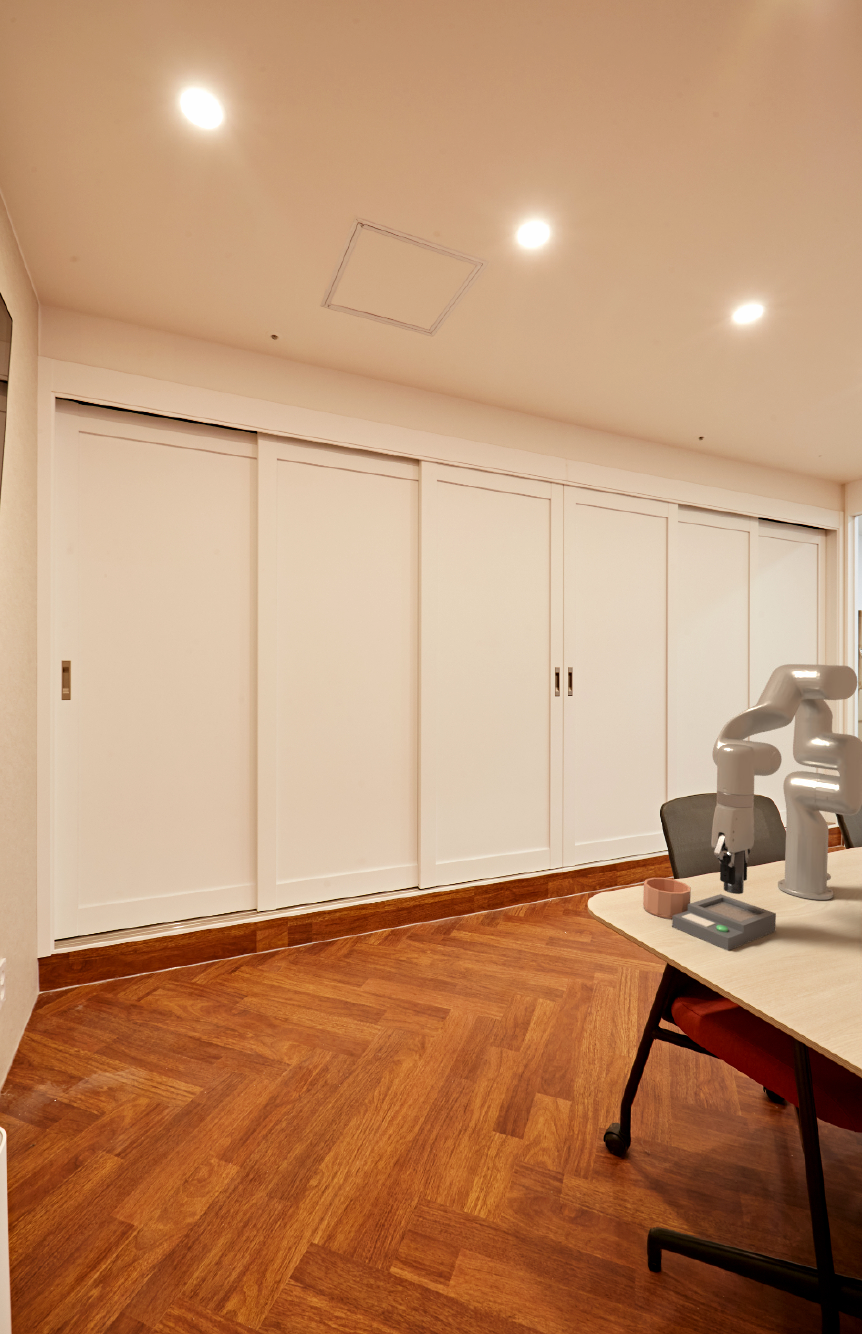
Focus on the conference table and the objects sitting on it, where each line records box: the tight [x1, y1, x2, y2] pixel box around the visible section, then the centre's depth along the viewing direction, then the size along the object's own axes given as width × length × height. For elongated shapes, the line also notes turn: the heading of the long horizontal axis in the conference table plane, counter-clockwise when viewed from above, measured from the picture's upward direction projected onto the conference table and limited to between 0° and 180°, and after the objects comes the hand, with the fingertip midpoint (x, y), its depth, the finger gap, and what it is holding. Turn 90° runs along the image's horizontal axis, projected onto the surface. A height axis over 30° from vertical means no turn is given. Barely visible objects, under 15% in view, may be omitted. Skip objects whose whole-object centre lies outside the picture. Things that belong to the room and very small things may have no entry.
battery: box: [723, 848, 745, 895], centre depth 138 cm, size 4×4×10 cm
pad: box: [705, 902, 759, 921], centre depth 138 cm, size 9×9×1 cm
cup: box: [642, 877, 692, 920], centre depth 146 cm, size 10×10×6 cm
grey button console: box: [671, 893, 777, 951], centre depth 136 cm, size 18×13×4 cm
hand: (733, 879), depth 138 cm, fingers closed on battery, 4 cm apart
